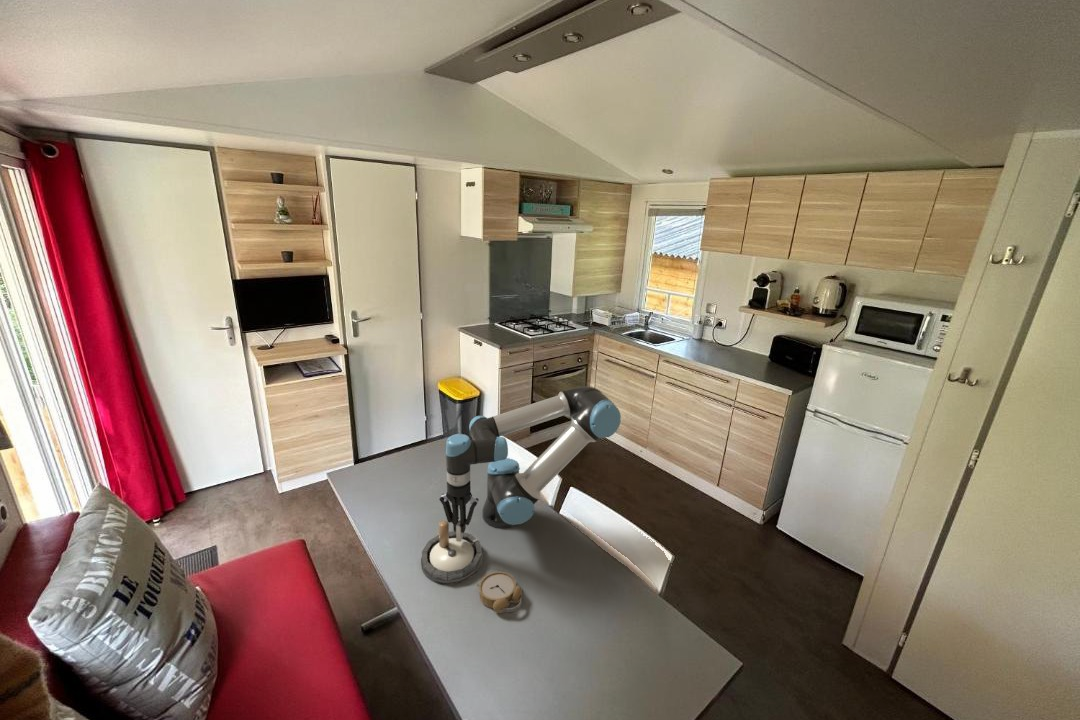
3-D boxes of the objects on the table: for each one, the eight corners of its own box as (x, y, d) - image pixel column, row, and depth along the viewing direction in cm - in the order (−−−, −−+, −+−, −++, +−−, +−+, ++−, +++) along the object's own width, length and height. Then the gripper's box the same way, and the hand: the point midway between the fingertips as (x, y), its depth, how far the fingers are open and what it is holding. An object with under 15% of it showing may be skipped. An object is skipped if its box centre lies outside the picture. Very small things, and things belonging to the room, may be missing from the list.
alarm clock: (500, 565, 140) (530, 588, 130) (501, 578, 141) (532, 602, 131) (471, 584, 133) (501, 610, 122) (472, 597, 134) (502, 624, 123)
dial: (482, 559, 144) (482, 536, 141) (443, 580, 135) (442, 556, 132) (459, 534, 154) (459, 512, 151) (422, 553, 145) (420, 530, 142)
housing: (477, 533, 157) (477, 525, 156) (487, 577, 139) (487, 568, 138) (419, 543, 151) (419, 534, 150) (422, 590, 133) (422, 580, 132)
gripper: (435, 484, 138) (437, 543, 146) (474, 490, 136) (475, 549, 144) (443, 471, 145) (445, 528, 153) (481, 476, 143) (481, 533, 151)
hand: (459, 538), depth 148 cm, fingers closed
